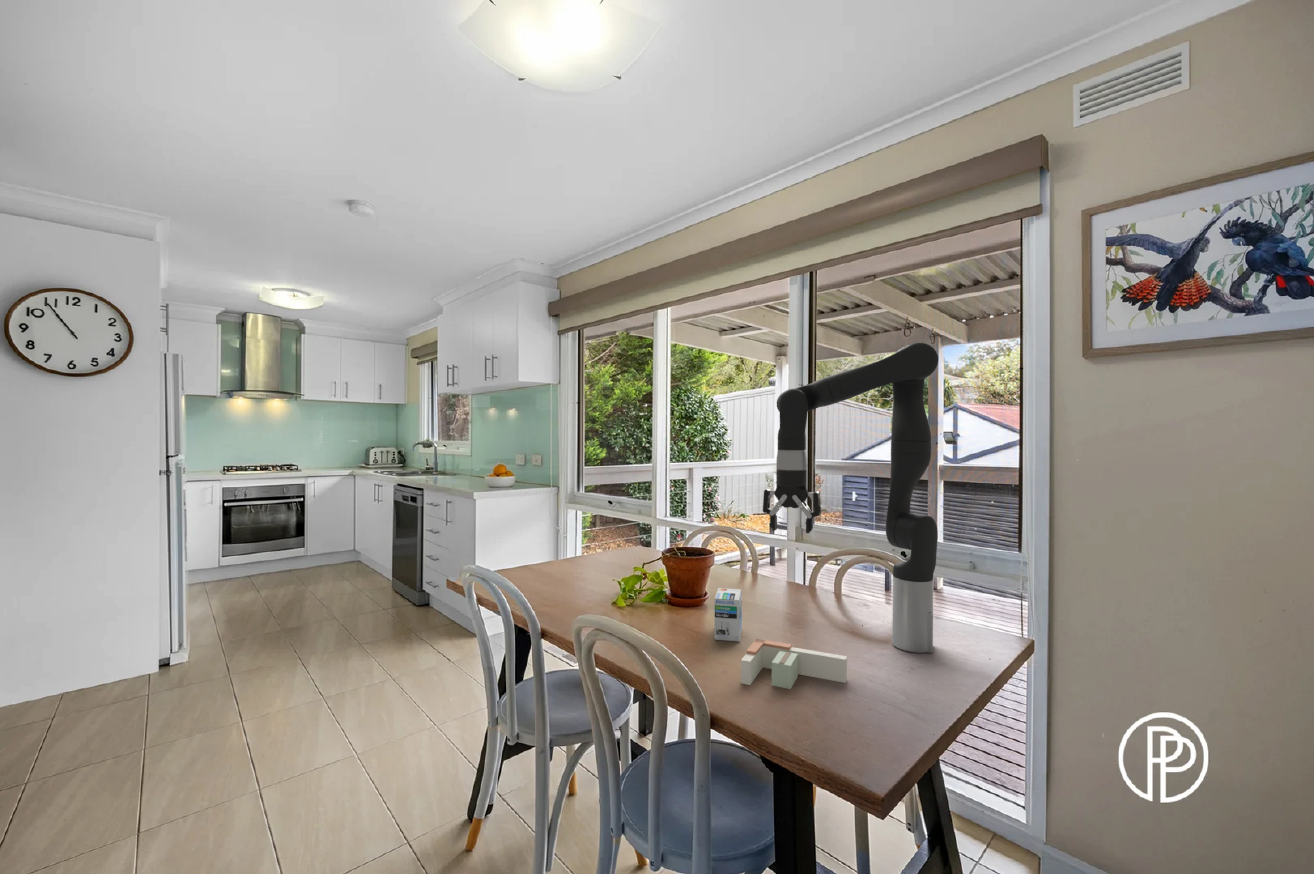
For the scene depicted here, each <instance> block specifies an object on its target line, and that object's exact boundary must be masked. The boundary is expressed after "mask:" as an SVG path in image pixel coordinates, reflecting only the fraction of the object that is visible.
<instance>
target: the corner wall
mask: <svg viewBox="0 0 1314 874" xmlns="http://www.w3.org/2000/svg"><path fill="white" fill-rule="evenodd" d="M779 651H784V652H791V653H796V654H798V675H801V676H807V677H812V678H815V679H817V678H818V679H822V680H827V681H831V682H832V681H833V682H837V683H838V682H839V683H845V684H846V683H847V680H848V656H846V655H841V654H835V653H829V652H822V651H818V650H813V649H805V648H800V647H793V646H792V643H785V642H780V641H773V640H767V639H763V638H762V639H761V638H755V640H754V641H753V643H751V645H749V647H748V648H747V649H746V653H745V655H744V656H743V657H742V658H741V660H740V684H743V685H748V686H751V685H752V683H753V682H754V681H755V679H756V677H757V676H758V675H759V674H760V672H761V671H762V670H763V669H769V670H772V661H773V660H774V658H775V657H776V656H777V654H778V653H779Z"/></svg>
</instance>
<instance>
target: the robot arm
mask: <svg viewBox="0 0 1314 874" xmlns="http://www.w3.org/2000/svg"><path fill="white" fill-rule="evenodd" d="M938 363H939V354H938V353H937V350H936V349H935V348H934V347H933V346H932V345H930V344H928V343H925V342H913V343H910V344H907V345H905V346H902V347H901V348H899V349H898V350H897V351H896V352H895V353H893V354H891V355H889V356H887V357H885V358H881V359H879V360H877V361H873V362H871V363H868V364H865V365H862V366H859V367H858V366H857V367H855V368H852V369H848V370H845V371H841V372H837V373H834V374H832V375H831V374H830V375H828V376H826V377H823V378H820V379H818V380H815V381H813V382H812V383H809V384H805V385H802V386H801V385H800V386H799V387H796V388H789V389H786V390H785V391H783V392H781V393H780V394H779V396H778V397H777V399H776V408H777V411H778V412H779V429H778V431H777V432H778V433H777V454H776V474H775V475H776V485H775V486H776V487H775V490H773V489H772V490H771V489H770V488H767V489H764V490H763V501H762V502H763V503H762V512H763V513H765V514H768V515H769V527H770V528H771V530H772V531H777V530H778V515H777V513H778V512H779V511H780V510H781V509H782V508H786V509H787V508H792V509H800V510H801V512H803V513H804V515H805V516H806V518H805V533H806V534H811V532H812V531H813V530H814V518H815V517H819V516H820V515H821V512H822V509H821V493H820V492H819V491H815V492H814V491H808V487H807V486H808V483H807V481H808V478H807V476H808V475H807V474H808V472H807V471H808V460H807V459H808V458H807V457H808V456H807V435H806V429H807V428H806V427H807V421H808V413H809V412H810V411H813V410H816V409H818V408H821V407H828V406H831V405H836V404H838V403H841V402H843V401H847V400H850V399H853V398H855V397H858V396H859V395H863V394H864V393H868V392H870V391H872V390H875V389H878V388H880V387H885V386H887V385H890V384H891V386H892V400H893V403H892V414H891V415H892V416H891V434H890V435H891V436H890V480H889V494H888V503H887V510H886V518H885V534H886V539H887V541H888V543H889V544H890V545H891V546H893V547H895V548H899V549H903V550H908V551H910V556H909V559H908V560H906V561H901V562H896V563H894V564H893V567H892V621H891V622H892V624H891V625H892V629H891V630H892V633H891V634H892V635H891V638H892V645H893V646H894V647H895V648H897V649H899V650H902V651H906V652H910V653H920V654H921V653H922V654H923V653H931V654H932V653H934V648H933V647H934V573H935V569H936V566H937V553H938V551H937V550H938V540H939V536H938V526H937V523H936V520H935V518H934V517H932V516H931V515H928V514H924V513H916V512H911V501H912V495H913V493H914V490H915V487H916V485H918V482H919V481H920V480H921V478H922V477H923V476H924V474H925V472H927V471H926V470H927V469H928V467H929V465H930V464H931V458H932V435H931V434H932V433H931V427H930V424H929V420H928V419H929V418H928V416H927V412H926V409H925V408H926V407H925V404H924V391H925V380H926V379H927V378H928V377H929V376H931V375H933V373H934V372H935V370H936V369H937V368H938V365H939V364H938ZM773 497H775V498H776V499H777V502H775V503H776V504H775V505H774V506H773V507H772V508H771V498H772V499H773ZM808 498H810V500H811V501H813V511H812V510H811V509H810V507H809V505H808V504H807V502H806V500H807V499H808Z"/></svg>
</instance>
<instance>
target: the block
mask: <svg viewBox="0 0 1314 874" xmlns="http://www.w3.org/2000/svg"><path fill="white" fill-rule="evenodd" d="M798 676H799V674H798V654H796V653H791V652H784V651H779V653H778V654H777V656H776V657H775V658H774V660H773V661H772V669H771V686H773V687H777V688H783V689H787V690H791V689H792V687H793V686H794V684H795V683H796V681H797V679H798Z"/></svg>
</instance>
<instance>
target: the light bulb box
mask: <svg viewBox="0 0 1314 874" xmlns="http://www.w3.org/2000/svg"><path fill="white" fill-rule="evenodd" d="M714 596H715V597H714V598H713V599H714V601H713V602H714V640H717V641H730V642H740V641H741V637H742V633H743V589H739V588H737V589H735V588H723V587H718V588H717V591H716V594H715V595H714Z"/></svg>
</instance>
